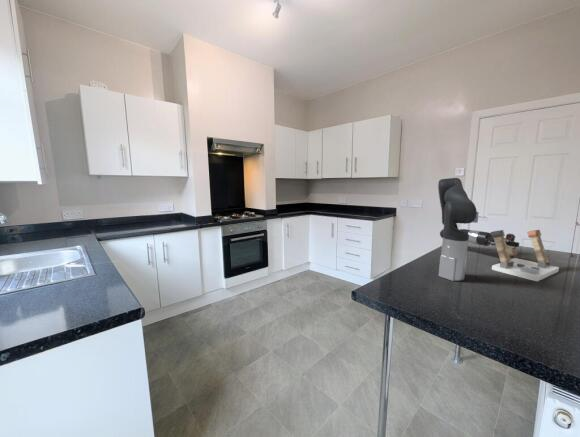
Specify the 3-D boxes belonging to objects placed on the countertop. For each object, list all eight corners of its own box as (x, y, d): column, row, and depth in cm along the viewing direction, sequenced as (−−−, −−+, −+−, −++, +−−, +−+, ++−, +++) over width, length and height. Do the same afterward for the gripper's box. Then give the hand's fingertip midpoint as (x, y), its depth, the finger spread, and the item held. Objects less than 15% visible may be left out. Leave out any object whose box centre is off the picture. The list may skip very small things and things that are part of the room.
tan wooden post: (508, 267, 112) (497, 231, 114) (500, 267, 114) (490, 232, 117) (513, 265, 114) (503, 229, 117) (506, 265, 117) (496, 230, 119)
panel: (537, 281, 102) (538, 272, 102) (491, 269, 116) (492, 261, 116) (558, 271, 114) (559, 262, 113) (514, 261, 128) (515, 253, 127)
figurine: (518, 254, 140) (521, 233, 138) (514, 256, 136) (517, 235, 134) (502, 251, 146) (504, 231, 144) (498, 253, 142) (500, 233, 140)
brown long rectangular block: (546, 266, 112) (534, 230, 115) (538, 267, 115) (527, 231, 117) (551, 264, 115) (539, 229, 117) (543, 265, 117) (531, 230, 120)
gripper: (473, 232, 134) (513, 239, 119) (485, 230, 140) (525, 236, 125) (472, 245, 135) (511, 254, 120) (484, 242, 141) (523, 250, 126)
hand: (518, 244), depth 123 cm, fingers closed
